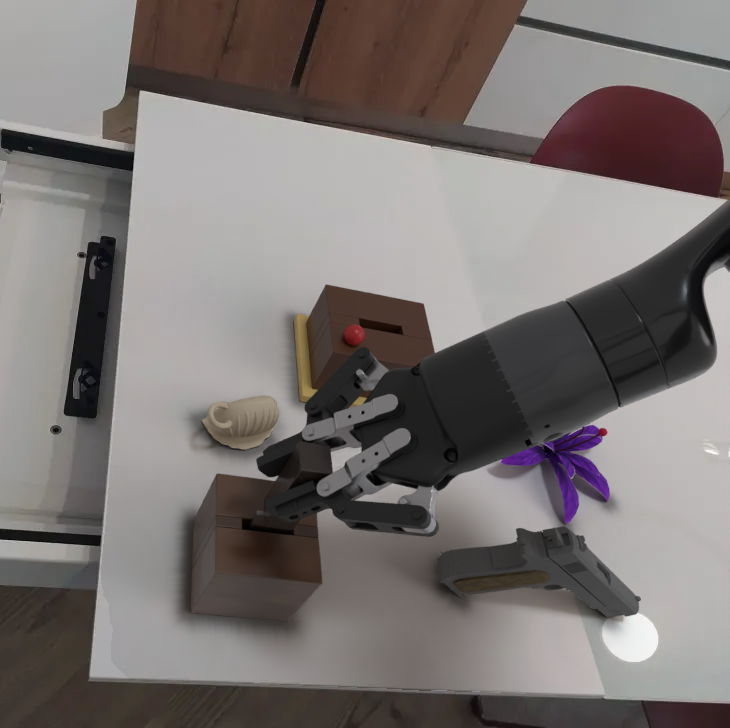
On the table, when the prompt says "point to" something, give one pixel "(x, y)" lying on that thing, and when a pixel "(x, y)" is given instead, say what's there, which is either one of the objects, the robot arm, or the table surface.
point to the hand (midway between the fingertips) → (267, 489)
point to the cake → (358, 335)
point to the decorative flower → (568, 464)
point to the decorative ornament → (242, 421)
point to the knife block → (250, 556)
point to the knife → (294, 483)
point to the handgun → (539, 570)
